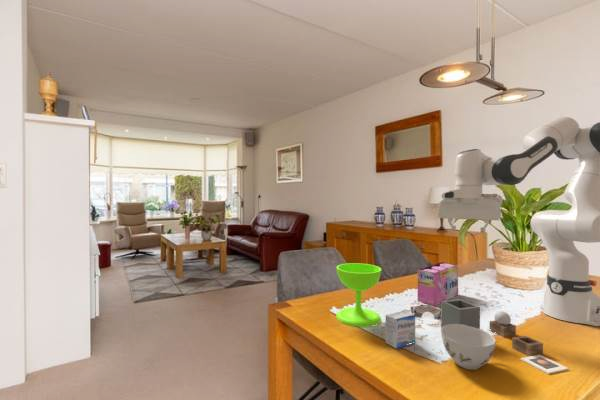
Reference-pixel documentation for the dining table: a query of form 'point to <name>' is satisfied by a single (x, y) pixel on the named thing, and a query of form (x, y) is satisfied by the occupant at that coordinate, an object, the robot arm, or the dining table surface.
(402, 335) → the medicine box
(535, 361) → the card
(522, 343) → the walnut ball cups
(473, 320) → the charcoal tube
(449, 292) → the gum box
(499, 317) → the white ball
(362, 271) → the wineglass
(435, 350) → the dining table surface
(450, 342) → the teacup
